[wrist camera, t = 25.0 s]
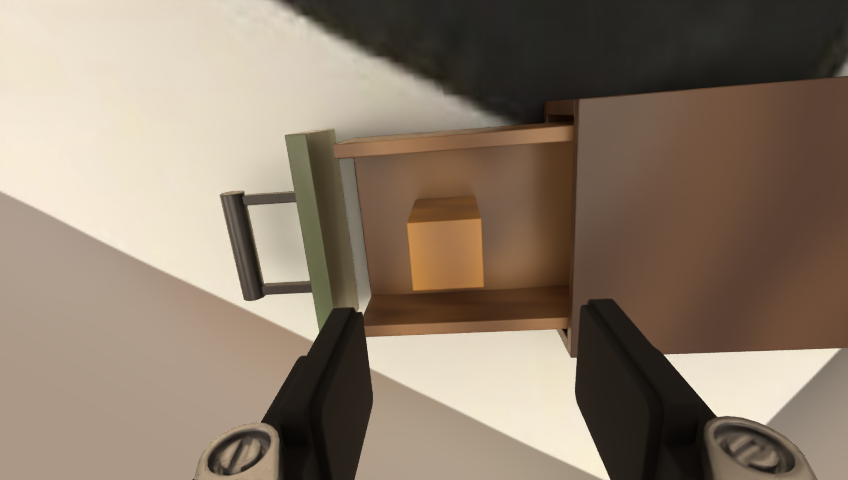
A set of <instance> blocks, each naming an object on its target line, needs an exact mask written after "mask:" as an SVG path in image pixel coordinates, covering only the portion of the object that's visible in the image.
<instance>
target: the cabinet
mask: <svg viewBox="0 0 848 480" xmlns="http://www.w3.org/2000/svg"><path fill="white" fill-rule="evenodd" d="M563 121H574V137H573V171H572V205H571V239H570V273H569V307H568V329H557V331H558V333H559V335H560V337H561V339H562V341H563V343H564V345H565V347H566V349H567V351H568V353H569V355H570V357H571V358H575V357H577V351H578V335H579V319H580V308H581V306H582V305H587V303H588V300H589V299H613V300H614V301H615V302H616V303H617V304H618V305H619V307H620V308H621V309H622V310H623V311H624V312H625V314H626V315H627V316H628V317H629V318H630V319H631V321H632V322H633V323H634V324H635V325H636V326H637V328H638V329H639V330H640V331H641V332H642V334H643V335H644V336H645V337H646V338H647V339H648V341H649V342H650V343H651V344H652V345H653V346H654V347H655V348H657V349H658V350H659V351H661V353H662V354H688V353H716V352H744V351H772V350H801V349H829V348H848V76H843V77H832V78H820V79H808V80H796V81H784V82H772V83H760V84H748V85H736V86H724V87H712V88H700V89H688V90H676V91H664V92H652V93H640V94H628V95H616V96H604V97H592V98H580V99H570V100H559V101H548V102H545V103H544V123H551V122H563Z"/></svg>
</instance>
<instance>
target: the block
mask: <svg viewBox="0 0 848 480" xmlns="http://www.w3.org/2000/svg"><path fill="white" fill-rule="evenodd" d="M407 232H408V242H409V253H410V263H411V274H412V284H413V290H414V291H417V290H437V289H457V288H477V287H484V267H483V241H482V218H481V215H480V212H479V209H478V206H477V202H476V199H475V196H463V197H448V198H433V199H418V200H415V202H414V205H413V208H412V210H411V213H410V216H409V219H408V221H407Z"/></svg>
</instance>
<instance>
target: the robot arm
mask: <svg viewBox="0 0 848 480" xmlns="http://www.w3.org/2000/svg"><path fill="white" fill-rule="evenodd" d="M575 396H576V401H577V404H578V406H579V409H580V411H581V413H582V416H583V418H584V420H585V422H586V425H587V427H588V429H589V432H590V434H591V436H592V438H593V441H594V443H595V445H596V448H597V450H598V452H599V454H600V457H601V459H602V461H603V464H604V466H605V468H606V471H607V473H608V475H609V477H610V480H817V478H816V476H815V474H814V472H813V470H812V469H811V467H810V465H809V463H808V461H807V459H806V458H805V456H804V455H803V454H802V452H801V451H800V450H799V448H798V447H797V446H796V445H795V444H793V443H792V442H791V441H790V440H789V439H788V438H786V437H785V436H783V435H782V434H780V433H778V432H777V431H775V430H773V429H772V428H770V427H767V426H765V425H763V424H760V423H758V422H755V421H752V420H748V419H744V418H740V417H731V416H724V417H717V416H716V415H715V414H714V413H713V412H712V411H711V409H710V408H709V407H708V406H707V405H706V404H705V402H704V401H703V400H702V399H701V398H700V397H699V396H698V394H697V393H696V392H695V391H694V390H693V389H692V387H691V386H690V385H689V384H688V383H687V382H686V380H685V379H684V378H683V377H682V376H681V375H680V373H679V372H678V371H677V370H676V369H675V368H674V367H673V365H672V364H671V363H670V362H669V361H668V360H667V358H666V357H665V356H664V355H663V354H662V353H661V351H659V350H658V349H657V348H655V347H654V346H653V345H652V344H651V343H650V342H649V341H648V339H647V338H646V337H645V336H644V335H643V334H642V332H641V331H640V330H639V329H638V328H637V326H636V325H635V324H634V323H633V322H632V321H631V319H630V318H629V317H628V316H627V315H626V314H625V312H624V311H623V310H622V309H621V308H620V307H619V305H618V304H617V303H616V302H615V301H614V300H613V299H589V300H588V303H587V305H582V306H581V308H580V319H579V335H578V351H577V366H576V382H575ZM372 404H373V392H372V384H371V376H370V368H369V360H368V352H367V344H366V336H365V328H364V320H363V314H362V312H356V310H355V308H354V307H341V308H333V309H332V311H331V313H330V314H329V316H328V318H327V320H326V322H325V323H324V325H323V327H322V329H321V331H320V332H319V334H318V336H317V338H316V340H315V341H314V343H313V345H312V347H311V349H310V351H309V352H308V354H307V356H301V357H299V359H298V360H297V361H296V363H295V365H294V366H293V368H292V370H291V372H290V373H289V375H288V377H287V378H286V380H285V382H284V383H283V385H282V387H281V389H280V390H279V392H278V394H277V396H276V397H275V399H274V401H273V403H272V404H271V406H270V408H269V409H268V411H267V413H266V414H265V416H264V418H263V420H262V421H261V423H250V424H243V425H241V426H238V427H235V428H232V429H230V430H229V431H227V432H225V433H223V434H221V435H220V436H219V437H218V438H216V439H215V440H214V441H212V442H211V443H210V444H209V446H208V447H207V448H206V449H205V450H204V451H203V453H202V456H201V458H200V460H199V462H198V466H197V470H196V474H195V477H194V479H193V480H354V479H355V475H356V471H357V467H358V463H359V459H360V454H361V450H362V446H363V442H364V438H365V434H366V430H367V426H368V422H369V417H370V413H371V409H372Z"/></svg>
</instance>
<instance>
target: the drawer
mask: <svg viewBox="0 0 848 480" xmlns="http://www.w3.org/2000/svg"><path fill="white" fill-rule="evenodd" d="M573 137H574V121H563V122H551V123H538V124H525V125H513V126H500V127H488V128H475V129H463V130H450V131H437V132H425V133H412V134H400V135H387V136H375V137H362V138H353V139H350V140H346V141H343V142H340V143H336V139H335V132H334V129H325V130H315V131H308V132H301V133H295V134H288V135H285V140H286V145H287V151H288V157H289V162H290V168H291V174H292V179H293V185H294V191H289V192H274V193H260V194H246V195H245V192H244V191H231V192H226V193H222V194H220V198H221V203H222V207H223V211H224V216H225V220H226V224H227V229H228V233H229V237H230V241H231V246H232V250H233V254H234V259H235V263H236V267H237V272H238V276H239V280H240V284H241V289H242V293H243V297H244V300H246V301H254V300H258V299H261V298H263V297H264V296H265V295H270V294H290V293H310V292H312V293H313V298H314V304H315V310H316V315H317V321H318V327H319V332H320V331H321V329H322V327H323V325H324V323H325V322H326V320H327V318H328V316H329V314H330V313H331V311H332V309H333V308H341V307H354V308H355V310H356V312H357V311H358V309H359V302H358V295H357V288H356V281H355V274H354V267H353V260H352V253H351V246H350V238H349V231H348V224H347V217H346V210H345V203H344V196H343V189H342V182H341V174H340V167H339V160H338V159H341V158H354V165H355V172H356V180H357V188H358V196H359V203H360V211H361V219H362V226H363V234H364V242H365V250H366V257H367V265H368V273H369V281H370V288H371V299H370V301H369V303H368V306H367V308H366V311H365V313H364V315H363V320H364V328H365V336H366V337H376V336H400V335H424V334H449V333H473V332H498V331H522V330H547V329H568V307H569V273H570V239H571V205H572V171H573ZM463 196H475V199H476V202H477V206H478V209H479V212H480V215H481V218H482V241H483V267H484V287H477V288H457V289H437V290H417V291H414V290H413V284H412V274H411V263H410V253H409V242H408V232H407V221H408V219H409V216H410V213H411V210H412V208H413V205H414V202H415V200H418V199H433V198H448V197H463ZM290 202H297V208H298V213H299V219H300V225H301V230H302V236H303V242H304V247H305V253H306V259H307V264H308V270H309V276H310V281H301V282H282V283H265V284H264V281H263V276H262V272H261V267H260V262H259V258H258V253H257V248H256V244H255V239H254V234H253V230H252V225H251V220H250V216H249V211H248V206H247V205H260V204H275V203H290Z"/></svg>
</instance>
